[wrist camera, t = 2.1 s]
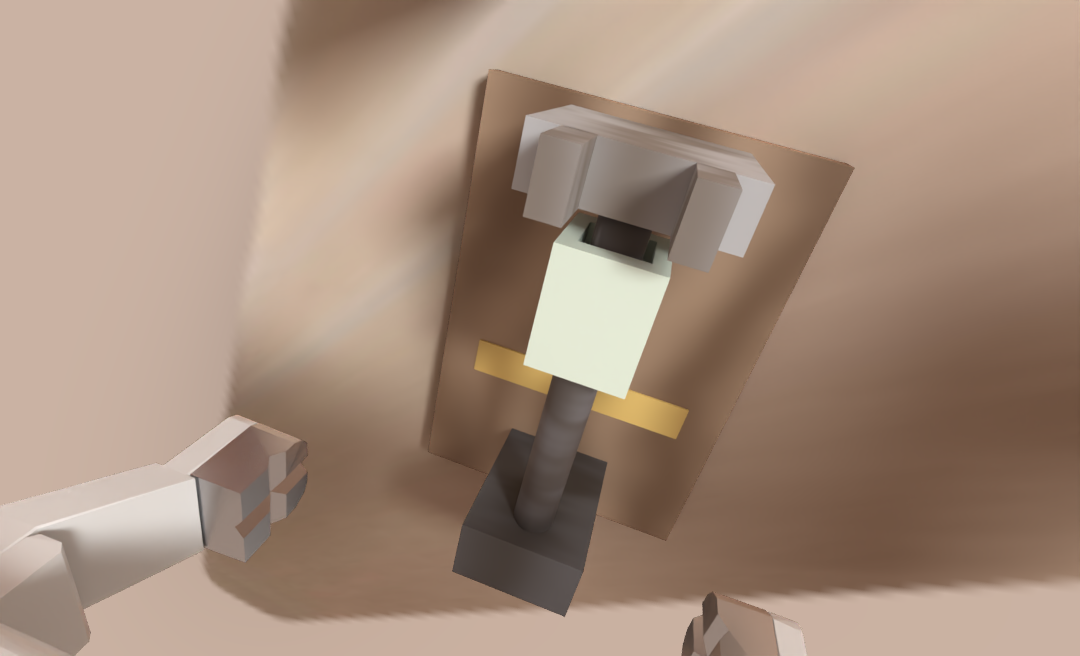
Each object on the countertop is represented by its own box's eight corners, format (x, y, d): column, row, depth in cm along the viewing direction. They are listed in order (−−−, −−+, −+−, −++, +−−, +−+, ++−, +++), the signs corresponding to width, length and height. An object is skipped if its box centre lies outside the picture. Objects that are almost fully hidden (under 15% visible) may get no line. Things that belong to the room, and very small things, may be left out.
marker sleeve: (674, 240, 21) (670, 278, 17) (635, 346, 23) (624, 399, 19) (578, 212, 21) (553, 242, 17) (550, 318, 24) (523, 364, 20)
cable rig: (846, 163, 22) (961, 229, 13) (666, 526, 33) (656, 708, 24) (497, 69, 24) (370, 65, 15) (435, 440, 35) (339, 576, 26)
